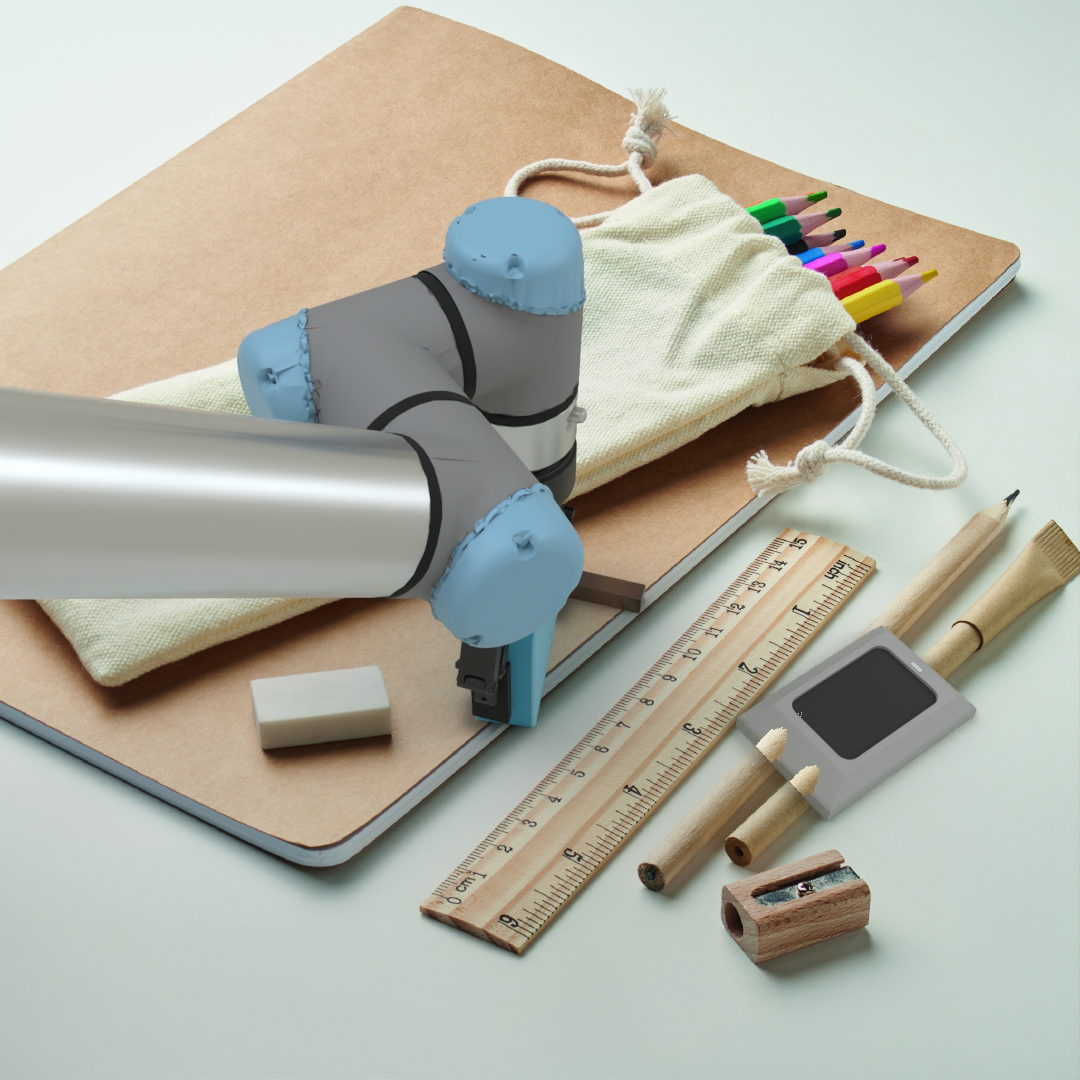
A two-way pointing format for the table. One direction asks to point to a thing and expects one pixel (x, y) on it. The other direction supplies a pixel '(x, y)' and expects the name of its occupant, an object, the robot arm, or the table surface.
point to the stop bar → (609, 592)
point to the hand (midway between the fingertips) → (518, 645)
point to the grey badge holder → (858, 718)
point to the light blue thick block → (528, 674)
